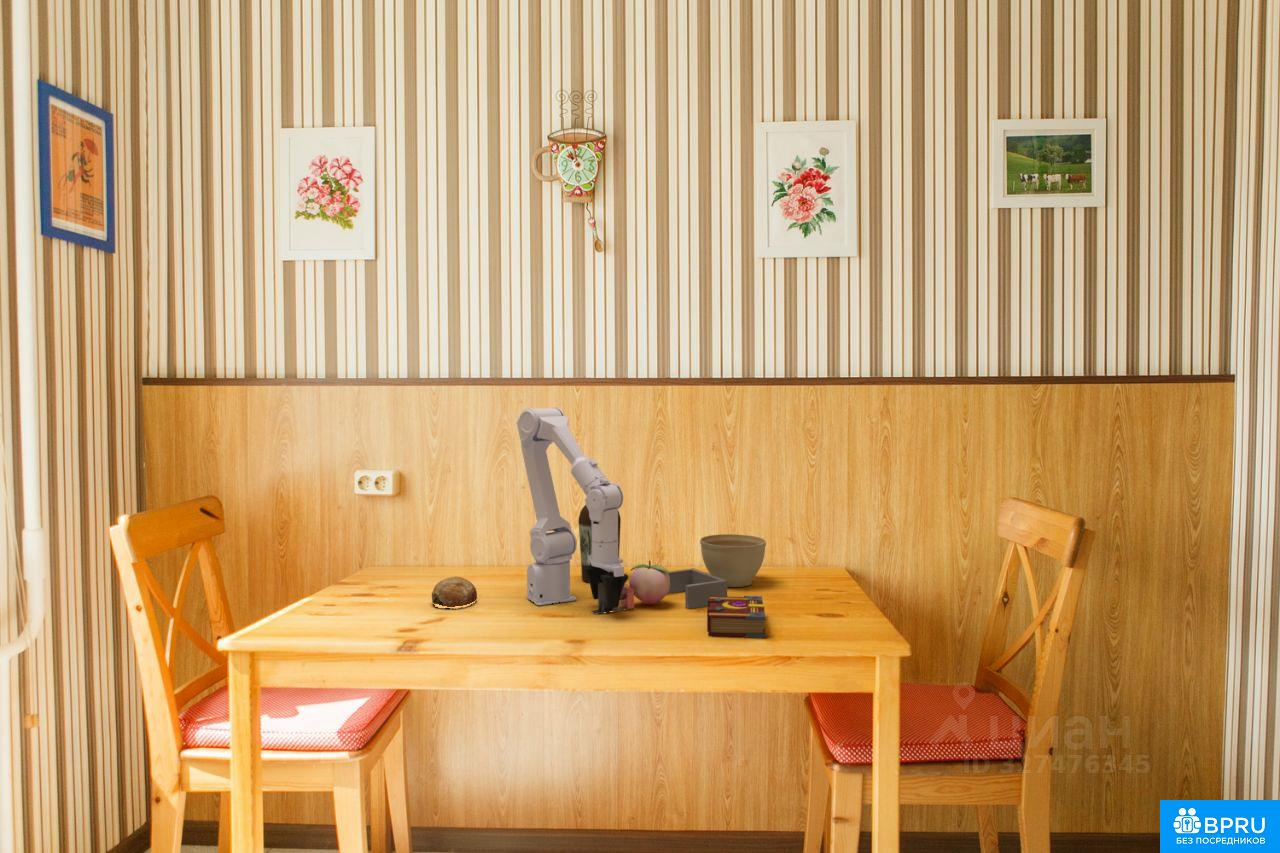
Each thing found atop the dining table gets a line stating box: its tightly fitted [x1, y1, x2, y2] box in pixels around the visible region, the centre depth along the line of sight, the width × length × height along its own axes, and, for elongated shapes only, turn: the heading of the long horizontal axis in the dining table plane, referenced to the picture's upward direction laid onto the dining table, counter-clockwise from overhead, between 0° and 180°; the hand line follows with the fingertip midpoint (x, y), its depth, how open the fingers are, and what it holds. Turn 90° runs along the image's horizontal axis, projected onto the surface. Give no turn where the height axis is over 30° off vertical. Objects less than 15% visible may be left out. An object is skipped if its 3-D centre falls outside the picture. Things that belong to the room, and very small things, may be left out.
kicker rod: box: [597, 580, 635, 611], centre depth 169 cm, size 8×4×6 cm, turn 118°
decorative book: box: [706, 595, 767, 639], centre depth 157 cm, size 11×16×5 cm
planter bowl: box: [699, 533, 767, 588], centre depth 192 cm, size 16×16×11 cm
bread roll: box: [431, 576, 478, 607], centre depth 176 cm, size 10×10×8 cm
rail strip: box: [591, 605, 632, 615], centre depth 169 cm, size 9×2×1 cm, turn 118°
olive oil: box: [578, 504, 622, 583], centre depth 196 cm, size 11×11×25 cm
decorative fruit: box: [628, 560, 670, 606], centre depth 173 cm, size 9×8×10 cm
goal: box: [668, 567, 728, 610], centre depth 178 cm, size 10×14×5 cm
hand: (605, 602), depth 168 cm, fingers open, 7 cm apart
